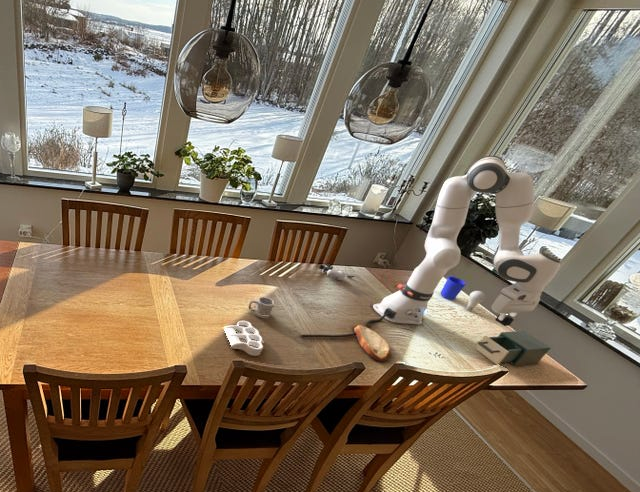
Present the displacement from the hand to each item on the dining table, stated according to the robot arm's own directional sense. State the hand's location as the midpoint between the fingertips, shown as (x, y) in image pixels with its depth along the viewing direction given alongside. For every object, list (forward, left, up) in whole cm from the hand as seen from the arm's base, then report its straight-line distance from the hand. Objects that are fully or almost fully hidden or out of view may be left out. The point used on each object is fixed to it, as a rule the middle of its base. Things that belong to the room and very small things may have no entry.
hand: (504, 319), depth 169 cm
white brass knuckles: (-113, +12, -14) cm, 114 cm away
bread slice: (-59, +5, -14) cm, 61 cm away
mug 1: (-98, +30, -14) cm, 103 cm away
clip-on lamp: (-37, +60, -14) cm, 72 cm away
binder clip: (0, 0, -2) cm, 2 cm away
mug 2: (+18, +39, -14) cm, 45 cm away
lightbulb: (+18, +25, -14) cm, 34 cm away
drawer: (-7, -8, -13) cm, 16 cm away
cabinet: (+6, -8, -14) cm, 17 cm away
